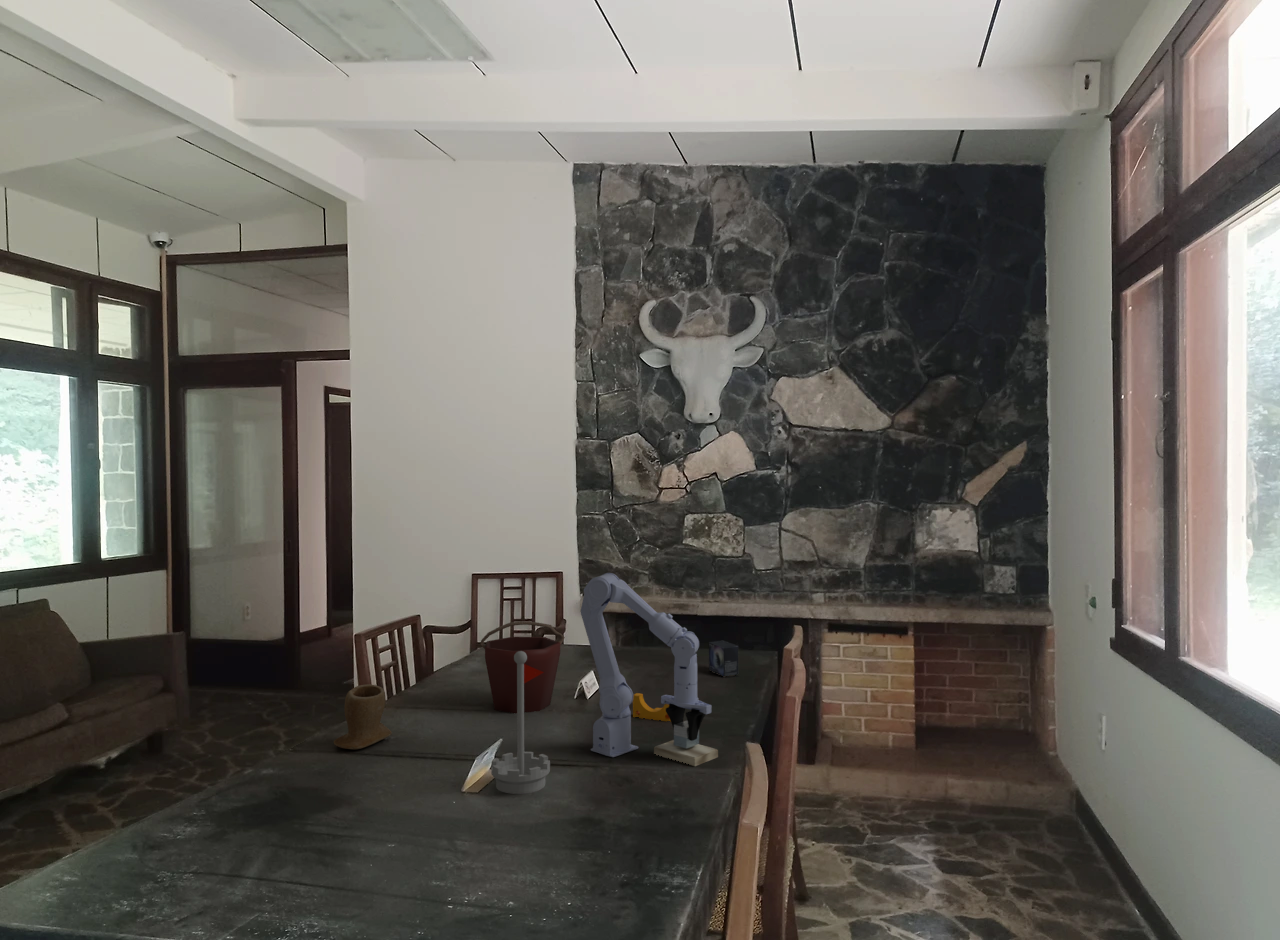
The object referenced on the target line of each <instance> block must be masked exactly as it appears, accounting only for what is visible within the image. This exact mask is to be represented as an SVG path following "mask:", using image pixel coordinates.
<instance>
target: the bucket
mask: <svg viewBox="0 0 1280 940" xmlns="http://www.w3.org/2000/svg"><path fill="white" fill-rule="evenodd" d="M523 625H524V626H527V625H528V626H536V627H541V628H546V629H548V630H549V631H550V632H551V633H552V634H553V636H556V639H551V638H548V637H545V636H509V637H504V638H498V639H492V640H488V639H489V637H490V636H492V635H494V634H496V633H498V632H499V631H502V630H504V629H507V628H509V627H511V626H513V627H514V626H523ZM565 637H566V636H564V635H563V634H562V633H560V632H558V631H557V630H556V629H555V628H554V626H552V624H548V623H542V622H536V621H513V622H508V623H505V624H503V625H501V626H497V627H496V628H494V629H493V630H491V631H489V632H487V633H486V634H485V636H483V638H481V640H480V643H479V644H480V646H481V647H482V648H483V649H484V658H485V659H484V660H485V661H484V662H485V664H486V671H487V675H488V681H489V686H490V691H491V696H492V697H491V698H492V702H493V708H494V711H499V712H503V713H509V712H510V713H509V714H514V713H515V714H517V663H516V662H515V661H514V655H515V654H516V653H517V652H518V651H523V652H525V653H526V655H527V660H526V662H525V663H524V664H526V665H528V666H530V667H533V668H535V669H537V670H539V671H542V672H544V673H542V674H540V675H538V676H537V677H535V678H533V679H531V680H530V681H528V682H526V683H524V714H525V712H526V713H533V712H534V711H536V712H541V711H542V710H544V709H546V708H548V707H549V706H550V705H551V702H552V697H553V693H554V688H555V682H556V678H557V671H558V666H559V661H560V658H561V657H560V656H561V645H562V643H563V642H564V640H565ZM486 640H487V641H486ZM484 642H485V643H484ZM548 705H549V706H548ZM545 707H546V708H545ZM540 710H541V711H540Z"/></svg>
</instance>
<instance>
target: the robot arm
mask: <svg viewBox="0 0 1280 940" xmlns="http://www.w3.org/2000/svg"><path fill="white" fill-rule="evenodd" d="M581 603H582V604H581V606H580V607H581V608H580V615H581V619H582V622H583V626H584V629H585V632H586V636H587V640H588V643H589V645H590V646H589V647H590V649H591V653H592V657H593V659H594V663H595V668H596V670H597V673H598V676H599V685H598V692H599V708H600V711H601V712H602V713H601V716H600V717H599V718H598V719H596V720H595V721H594V723H593V725H592V726H593V727H592V748H590V751H591V752H594V753H598V754H600V755H603V756H606V757H610V758H615V757H618V756H621V755H624V754H626V753H630V752H632V751H635V750H638V749H639V746H638V745H634V744H632V711H631V709H630V706H631V704H633V695H634V693H633V690H632V688H631V687H630V686H629V685H628V683H627V681H626V678H625V676H624V675H623V674H622V672H620V669H619V666H618V665H619V664H618V662H617V659H616V655H615V652H614V648H613V645H612V642H611V639H610V635H609V631H608V629H607V624H606V621H605V618H604V615H603V613H604V612H605V610H606V608H607V606H608V604H609V603H614V604H615V603H616V604H624V606H626V607H627V608H629V609H630V610H631V611H633V612H634V613H635V614H636V615H638V616H639V617H640V618H642V619H643V620H644V621H646V622H647V624H648V629H649V631H650V632H651V633H652V634H653V635H654V636H656V637H657V638H658V639H659V640H660V641H661V642H663V643H664V644H665V645H667V647H670V648H671V649H670V650H671V654H673V656H674V664H673V673H674V674H673V678H674V679H673V681H674V682H673V684H674V685H673V687H674V688H673V691H674V692H673V693H674V694H673V695H669V694H663V695H661V697H660V704H662V705H665V704H669V707H668V708H666V712H667V714H668V716H669V718H670V720H671V722H670V723H671V726H672V729H673V731H674V725H675V724H677V723H680V722H683V721H684V717H686V720H687V721H688V727H689V740H691V741H693V740H695V739H697V735H698V731H699V732H700V728H701V724H702V722H703V720H704V718H705V717H706V715H708V714H712V704H709V703H706V702H705V701H702V700H699V697H698V657H697V656H698V654H697V652H698V649H699V648H700V640H699V638H698V637H697V635H696V634H695V632H693V631H690V630H689V631H688V629H687V627H685V626H684V627H682V626H681V625H680V624H679V623H677V622H676V621H675V620H674V619H673V617H674V616H673V615H672V614H671V613H668V614H667V613H665V612H664V611H663V612H659V611H658V612H657V611H656V610H655V609H654V608H653V607H652V606H651V605H650V604H648V603H647V601H645V600H644V599H643V598H642V597H641V596H640V595H639V594H638V593H637V592H636V591H635V590H634V589H633V588H631V587H630V586H629V584H627V582H626V581H625V580H623V579H621V578H619V577H618V576H617V575H616V574H615V573H613V572H612V573H611V572H606V573H603V574H601V575H599V576H596V577H595V576H594V577H592V578H591V579H590V580H589V581H588V583H587V584H586V585H585V586H584V588H583V598H582V602H581ZM686 709H687V710H690V711H686ZM685 711H686V712H685Z"/></svg>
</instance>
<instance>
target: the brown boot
mask: <svg viewBox="0 0 1280 940" xmlns="http://www.w3.org/2000/svg"><path fill="white" fill-rule="evenodd" d="M385 706H386V691H385V690H384V688H383V687H381V686H379V685H376V684H370V683H368V684H361V685H357V686H355V687H353V688H351V690H349V691H348V692H347V693H346V695H345V699H344V707H343V708H344V717H345V721H346V724H347V729H348V730H347V733H345V734H344V735H341V736H339V737H337V738H335V740H333V744H334V746H336V747H337V748H341V749H345V750H360V749H364V748H367V747H369V746H371V745H374V744H376V743H378V742H380V741H382V740H384V739H386V738H388V737H390V736H392V735H393V733H392V732H393V731H391V729H389V728H388V727H387V726H386V725H384V723H382V722H381V720H382V716H383V713H384V710H385Z"/></svg>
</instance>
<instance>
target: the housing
mask: <svg viewBox="0 0 1280 940" xmlns="http://www.w3.org/2000/svg"><path fill="white" fill-rule="evenodd" d="M673 740H674V745H675V746H679V747H683V748H686V749H687V748H689V747H692V746H695V745H697V744H700V730H699V731H698V735H697V739H695V740H693V741H691V740H689V727H688V721H687V719H686V720H683V722H680V723H677V724H675V725H674V730H673Z"/></svg>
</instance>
